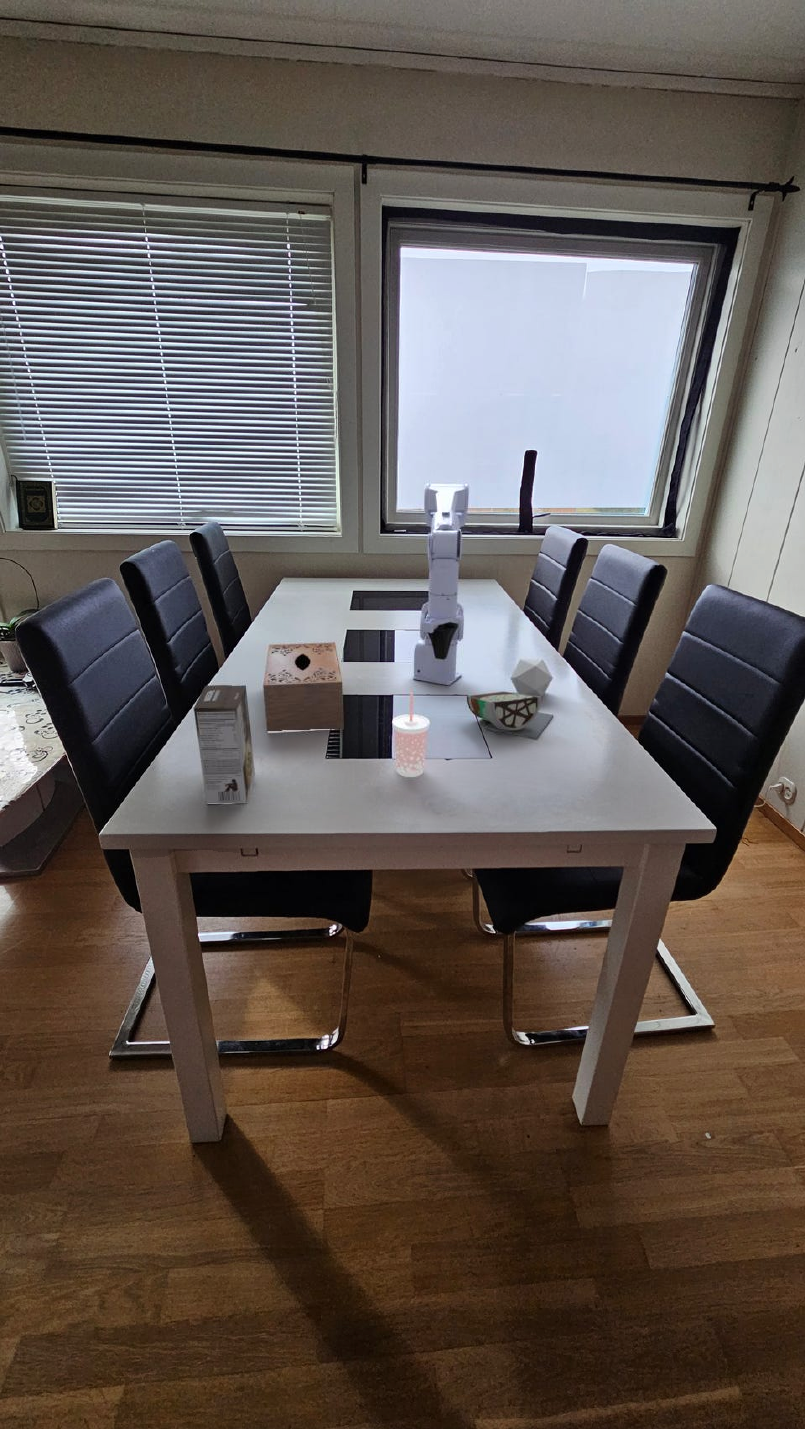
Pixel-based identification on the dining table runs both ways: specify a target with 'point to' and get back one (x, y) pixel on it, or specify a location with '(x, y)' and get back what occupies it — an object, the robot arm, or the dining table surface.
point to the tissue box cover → (303, 687)
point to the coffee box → (225, 743)
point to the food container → (505, 709)
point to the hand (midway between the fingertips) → (440, 658)
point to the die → (531, 677)
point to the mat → (528, 726)
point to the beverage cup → (410, 742)
